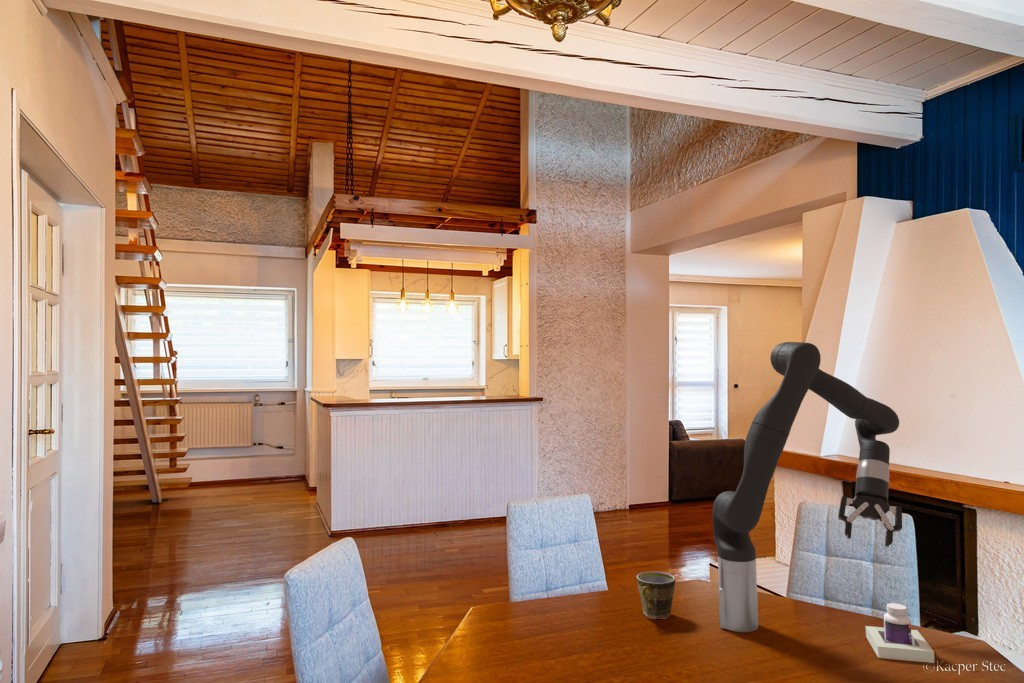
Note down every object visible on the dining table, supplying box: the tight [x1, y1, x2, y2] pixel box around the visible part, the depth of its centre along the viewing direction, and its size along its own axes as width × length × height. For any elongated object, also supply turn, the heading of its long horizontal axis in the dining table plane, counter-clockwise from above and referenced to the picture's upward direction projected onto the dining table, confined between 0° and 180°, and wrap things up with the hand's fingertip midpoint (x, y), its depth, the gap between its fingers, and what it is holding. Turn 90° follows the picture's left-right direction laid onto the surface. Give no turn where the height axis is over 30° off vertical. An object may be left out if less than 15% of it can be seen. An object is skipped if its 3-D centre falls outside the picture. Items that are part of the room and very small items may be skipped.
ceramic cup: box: [636, 571, 676, 619], centre depth 175 cm, size 13×10×10 cm
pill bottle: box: [883, 602, 912, 645], centre depth 153 cm, size 5×5×10 cm
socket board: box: [865, 625, 935, 664], centre depth 153 cm, size 11×12×2 cm
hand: (867, 542), depth 168 cm, fingers open, 8 cm apart
